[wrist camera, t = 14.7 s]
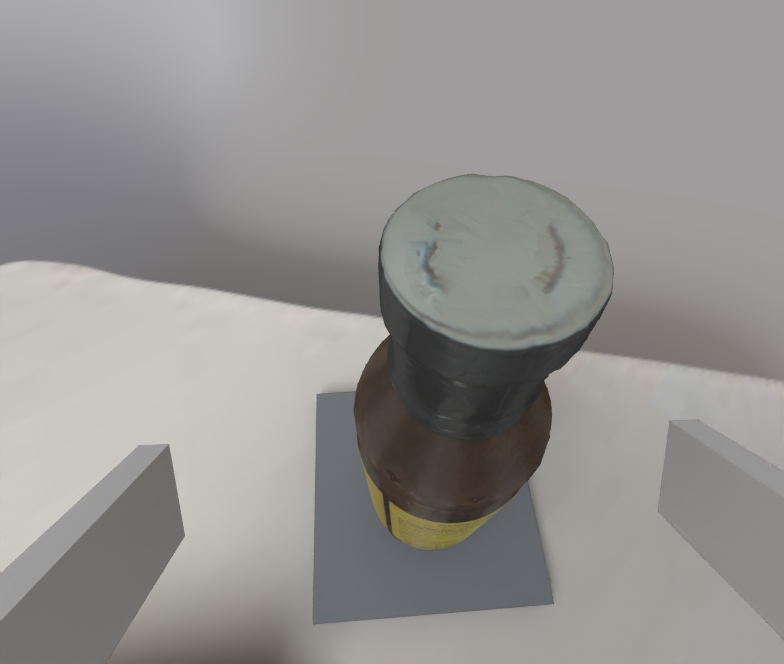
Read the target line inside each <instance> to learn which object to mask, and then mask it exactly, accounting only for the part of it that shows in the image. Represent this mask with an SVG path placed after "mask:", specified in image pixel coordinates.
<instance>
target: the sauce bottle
mask: <svg viewBox="0 0 784 664" xmlns="http://www.w3.org/2000/svg"><path fill="white" fill-rule="evenodd" d="M378 268H379V269H378V270H379V285H380V307H381V313H382V316H383V320H384V324H385V326H386V328H387V330H388V332H389V333H390V335H389V336H388V337H387V338H386V339H385V340H384V341H382V343H381V344H380V345H379V347H378V348H377V349H376V350H375V352H374V353H373V354H372V356H371V357H370V359H369V361H368V363H367V364H366V366H365V368H364V370H363V372H362V375H361V377H360V380H359V382H358V384H357V391H356V395H355V398H354V400H355V403H354V409H353V410H354V416H355V423H356V430H357V443H358V450H359V454H360V458H361V462H362V466H363V469H364V473H365V477H366V480H367V484H368V488H369V491H370V495H371V499H372V502H373V505H374V508H375V511H376V513H377V515H378V517H379V519H380V520H381V522H382V523H383V524H384V526H385V527H386V528H388V530H389V531H390V533H391V534H392V535H393V536H394V537H395V538H396V539H398V540H399V541H402V542H404V543H406V544H408V545H410V546H413V547H416V548H420V549H428V550H440V549H444V548H448V547H450V546H454V545H456V544H458V543H459V542H461V541H463V540H464V539H466V538H467V537H468V536H470V535H471V534H472V533H473V532H474V531H475V530H477V529H478V528H479V527H480V526H481V525H483V524H484V523H485V522H486V521H487V520H489V519H490V518H491V517H492V516H493V515H494V514H495V513H497V512H498V511H499V510H500V509H501V508H503V507H504V506H505V505H506V504H507V503H508V502H510V501H511V500H512V499H513V497H514V496H515V495H516V494H517V493H518V492H519V490H520V489H521V487H522V486H523V485H524V483H526V482H527V481H528V480H529V478H530V477H531V476H532V475H533V473H534V472H535V471H536V470H537V468H538V467H539V466H540V463H541V460H542V458H543V455H544V452H545V449H546V446H547V443H548V440H549V438H550V435H549V434H550V429H551V421H552V411H551V410H552V408H551V400H550V397H549V393H548V389H547V387H546V385H545V382H544V380H545V379H546V378H547V377H548V375H549V374H550V373H552V372H553V371H555V370H558V369H560V368H562V367H563V366H564V365H565V364H566V363H567V362H568V361H569V360H570V358H571V357H572V356H573V355H574V354H576V353H577V352H578V351H579V350H580V348H581V347H582V345H583V343H584V342H585V341H586V340H587V338H588V336H589V334H590V332H591V331H592V329H593V328H594V326H595V325H596V323H597V321H598V320H599V319H600V317H601V315H602V313H603V311H604V309H605V307H606V305H607V303H608V301H609V299H610V297H611V294H612V287H613V275H614V266H613V262H612V258H611V254H610V250H609V246H608V243H607V242H606V240H605V239H604V238H603V237H602V235H601V234H600V233H599V231H598V229H597V228H596V226H595V224H594V222H593V221H592V220H591V219H589V217H588V216H587V215H586V214H585V213H584V212H583V211H582V210H581V209H580V208H578V207H577V206H576V205H575V204H574V203H573V202H571V201H570V200H569V199H568V198H566V197H565V196H563V195H561V194H559V193H558V192H556V191H554V190H552V189H550V188H548V187H546V186H543V185H541V184H538V183H535V182H533V181H529V180H524V179H520V178H517V177H511V176H485V175H478V174H467V175H461V176H457V177H453V178H449V179H446V180H443V181H440V182H437V183H434V184H432V185H430V186H428V187H426V188H424V189H422V190H420V191H418V192H416V193H414V194H413V195H412V196H411V197H410V198H409V199H408V200H407V201H406V202H404V203H403V204H402V205H401V206H399V207H398V208H397V209H396V210H395V212H394V213H393V214H392V216H391V217H390V219H389V220H388V222H387V224H386V226H385V228H384V230H383V234H382V238H381V241H380V245H379V263H378Z"/></svg>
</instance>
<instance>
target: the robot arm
mask: <svg viewBox="0 0 784 664" xmlns="http://www.w3.org/2000/svg"><path fill="white" fill-rule="evenodd" d="M658 512H659V513H660V514H661V515H662V516H663V517H664V518H665V519H666V520H667V521H668V522H669V523H670V524H671V525H672V526H673V527H674V528H675V529H676V530H677V532H678V533H679V534H680V535H681V536H682V537H683V538H684V539H685V540H686V541H687V542H688V543H689V544H690V545H691V546H692V547H693V548H694V549H695V550H696V551H697V552H698V553H699V554H700V555H701V556H702V557H703V558H704V559H705V560H706V561H707V562H708V563H709V564H710V565H711V566H712V567H713V568H714V569H715V570H716V571H717V572H718V573H719V574H720V575H721V576H722V577H723V578H724V579H725V580H726V581H727V583H728V584H729V585H730V586H731V587H732V588H733V589H734V590H735V591H736V592H737V593H738V594H739V595H740V596H741V597H742V598H743V599H744V600H745V601H746V602H747V603H748V604H749V605H750V606H751V607H752V608H753V609H754V610H755V611H756V612H757V613H758V614H759V615H760V616H761V617H762V618H763V619H764V620H765V621H766V622H767V623H768V624H769V625H770V626H771V627H772V628H773V629H774V630H775V631H776V632H777V633H778V635H779V636H780V637H781V638H782V639H783V640H784V471H782V470H780V469H779V468H777V467H776V466H774V465H772V464H771V463H769V462H767V461H766V460H764V459H762V458H761V457H759V456H757V455H756V454H754V453H752V452H751V451H749V450H747V449H746V448H744V447H742V446H741V445H739V444H738V443H736V442H734V441H733V440H731V439H729V438H728V437H726V436H724V435H723V434H721V433H719V432H718V431H716V430H714V429H713V428H711V427H709V426H708V425H706V424H705V423H703V422H701V421H700V420H677V421H669V429H668V436H667V444H666V452H665V460H664V467H663V475H662V483H661V490H660V498H659V506H658ZM184 536H185V533H184V528H183V522H182V516H181V510H180V505H179V499H178V493H177V487H176V482H175V476H174V470H173V464H172V459H171V453H170V447H169V444H162V445H140V446H138V447H137V448H136V449H135V450H134V451H133V452H131V453H130V454H129V455H128V456H127V457H126V458H125V459H124V460H123V461H122V462H121V463H120V464H118V465H117V466H116V467H115V468H114V469H113V470H112V471H111V472H110V473H109V474H108V475H106V476H105V477H104V478H103V479H102V480H101V481H100V482H99V483H98V484H97V485H96V486H95V487H93V488H92V489H91V490H90V491H89V492H88V493H87V494H86V495H85V496H84V497H83V498H82V499H80V500H79V501H78V502H77V503H76V504H75V505H74V506H73V507H72V508H71V509H70V510H69V511H67V512H66V513H65V514H64V515H63V516H62V517H61V518H60V519H59V520H58V521H57V522H56V523H54V524H53V525H52V526H51V527H50V528H49V529H48V530H47V531H46V532H45V533H44V534H43V535H41V536H40V537H39V538H38V539H37V540H36V541H35V542H34V543H33V544H32V545H31V546H30V547H28V548H27V549H26V550H25V551H24V552H23V553H22V554H21V555H20V556H19V557H18V558H17V559H15V560H14V561H13V562H12V563H11V564H10V565H9V566H8V567H7V568H6V569H5V570H4V571H2V572H1V573H0V664H106V662H107V661H108V659H109V657H110V656H111V654H112V653H113V651H114V649H115V648H116V646H117V644H118V643H119V641H120V640H121V638H122V636H123V635H124V633H125V632H126V630H127V628H128V627H129V625H130V623H131V622H132V620H133V619H134V617H135V615H136V614H137V612H138V611H139V609H140V607H141V606H142V604H143V603H144V601H145V599H146V598H147V596H148V594H149V593H150V591H151V590H152V588H153V586H154V585H155V583H156V582H157V580H158V578H159V577H160V575H161V574H162V572H163V570H164V569H165V567H166V565H167V564H168V562H169V561H170V559H171V557H172V556H173V554H174V553H175V551H176V549H177V548H178V546H179V545H180V543H181V541H182V540H183V538H184Z"/></svg>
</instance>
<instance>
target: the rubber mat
mask: <svg viewBox="0 0 784 664" xmlns="http://www.w3.org/2000/svg"><path fill="white" fill-rule="evenodd" d="M355 395H356V392H340V393H324V394H317V412H316V470H315V528H314V586H313V624H323V623H335V622H347V621H359V620H370V619H382V618H394V617H406V616H418V615H430V614H442V613H453V612H465V611H477V610H489V609H501V608H513V607H525V606H537V605H548V604H554V601H553V596H552V592H551V587H550V582H549V578H548V573H547V568H546V564H545V559H544V555H543V550H542V545H541V541H540V536H539V532H538V527H537V522H536V518H535V513H534V508H533V504H532V499H531V495H530V490H529V485H528V481H527V482H526V483H524V485H523V486H522V487H521V489H520V490H519V492H518V493H517V494H516V495H515V496H514V497H513V499H512V500H511V501H510V502H508V503H507V504H506V505H505V506H504V507H503V508H501V509H500V510H499V511H498V512H497V513H495V514H494V515H493V516H492V517H491V518H490V519H489V520H487V521H486V522H485V523H484V524H483V525H481V526H480V527H479V528H478V529H477V530H475V531H474V532H473V533H472V534H471V535H470V536H468V537H467V538H466V539H464V540H463V541H461V542H459V543H458V544H456V545H454V546H450V547H448V548H444V549H440V550H428V549H420V548H416V547H413V546H410V545H408V544H406V543H404V542H402V541H399V540H398V539H396V538H395V537H394V536H393V535H392V534H391V533H390V531H389V530H388V528H386V527H385V526H384V524H383V523H382V522H381V520H380V519H379V517H378V515H377V513H376V511H375V508H374V505H373V502H372V499H371V495H370V491H369V488H368V484H367V480H366V477H365V473H364V469H363V466H362V462H361V458H360V454H359V450H358V443H357V430H356V423H355V416H354V410H353V409H354V403H355V400H354V398H355Z"/></svg>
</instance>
